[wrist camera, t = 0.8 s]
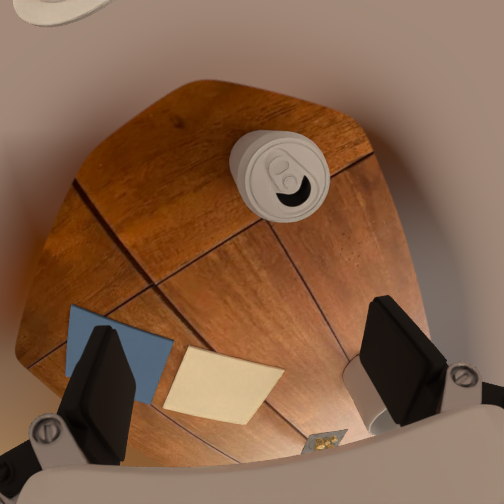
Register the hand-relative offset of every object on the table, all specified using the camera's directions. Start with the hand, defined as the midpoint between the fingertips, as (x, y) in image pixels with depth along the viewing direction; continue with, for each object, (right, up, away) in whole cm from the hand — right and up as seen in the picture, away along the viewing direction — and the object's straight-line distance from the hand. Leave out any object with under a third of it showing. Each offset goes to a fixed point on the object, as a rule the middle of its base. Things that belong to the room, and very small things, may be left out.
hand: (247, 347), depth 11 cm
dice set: (+15, -35, +42) cm, 56 cm away
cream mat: (-4, -17, +31) cm, 36 cm away
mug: (+19, -16, +35) cm, 43 cm away
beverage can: (+1, +13, +20) cm, 24 cm away
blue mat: (-19, -11, +27) cm, 35 cm away
